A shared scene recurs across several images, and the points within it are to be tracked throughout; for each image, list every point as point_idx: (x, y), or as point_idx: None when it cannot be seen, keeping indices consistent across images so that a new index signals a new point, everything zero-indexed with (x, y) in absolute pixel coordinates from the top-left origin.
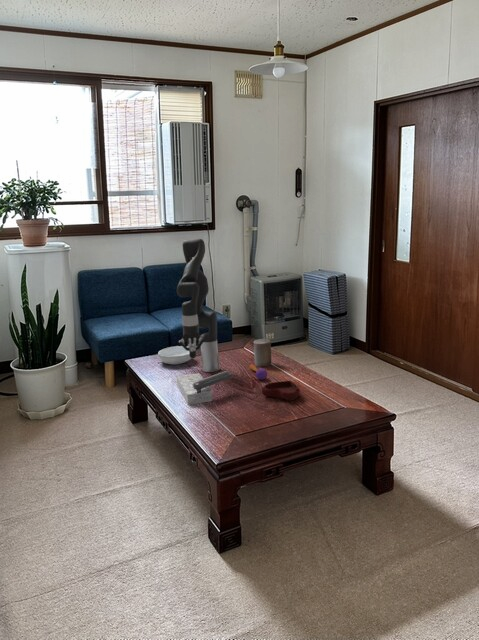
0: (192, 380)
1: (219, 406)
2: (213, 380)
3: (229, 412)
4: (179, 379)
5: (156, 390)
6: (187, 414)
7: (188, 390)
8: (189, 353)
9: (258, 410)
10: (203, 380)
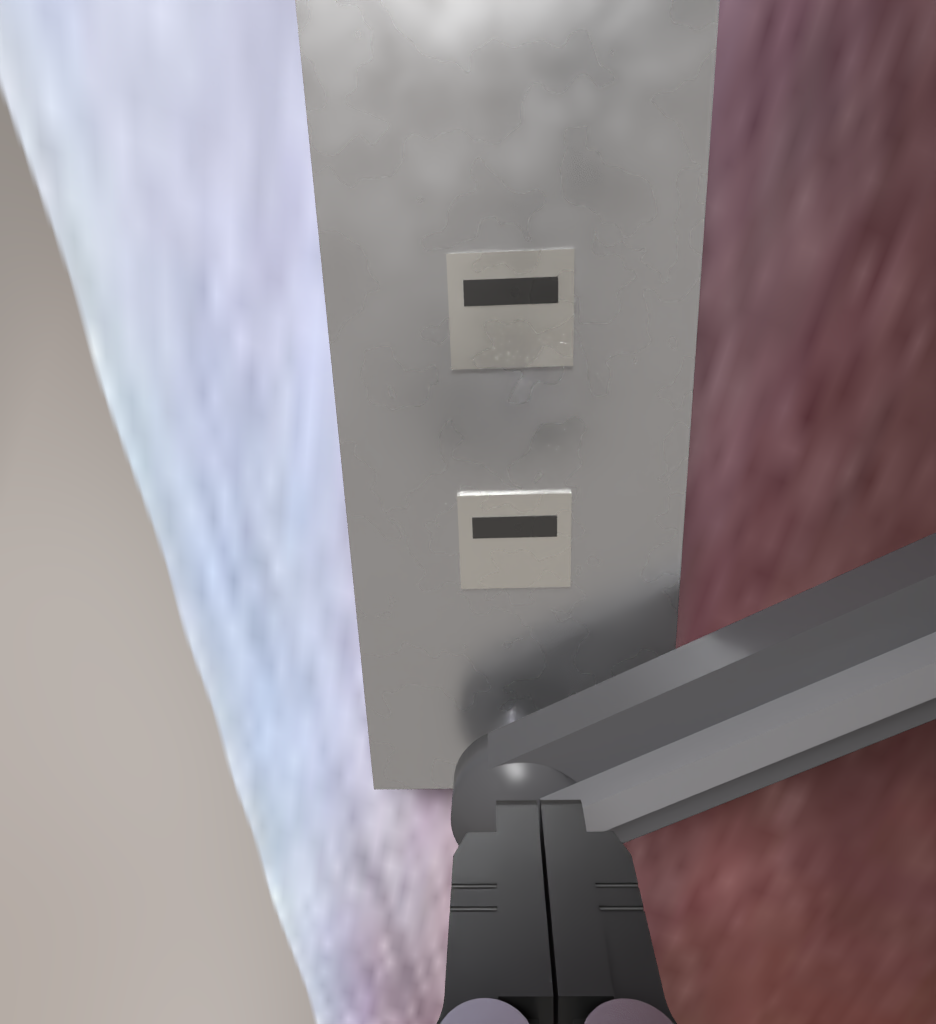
0: (520, 350)
1: (661, 842)
2: (750, 792)
3: (698, 964)
4: (332, 201)
5: (38, 149)
6: (358, 892)
7: (405, 678)
8: (449, 939)
9: (929, 1003)
10: (606, 824)
